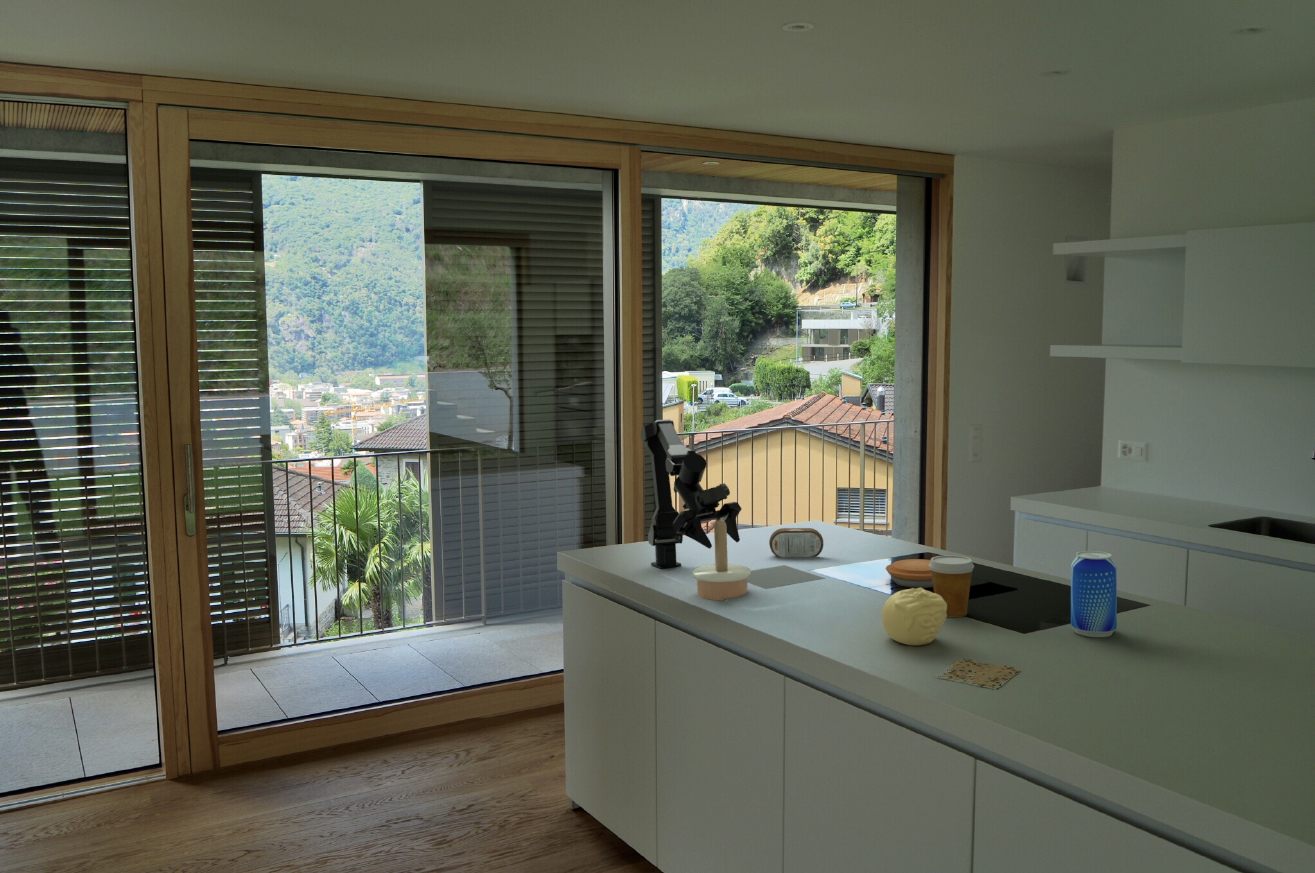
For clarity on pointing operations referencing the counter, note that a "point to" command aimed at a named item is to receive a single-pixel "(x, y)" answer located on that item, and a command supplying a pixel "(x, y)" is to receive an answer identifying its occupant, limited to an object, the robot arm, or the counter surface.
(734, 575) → the lid
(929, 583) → the pie
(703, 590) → the bowl
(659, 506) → the robot arm
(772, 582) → the mat
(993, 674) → the cookie
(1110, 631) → the beer can
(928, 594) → the pale yellow lumpy ball
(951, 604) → the disposable coffee cup
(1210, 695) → the counter surface
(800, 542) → the tin
